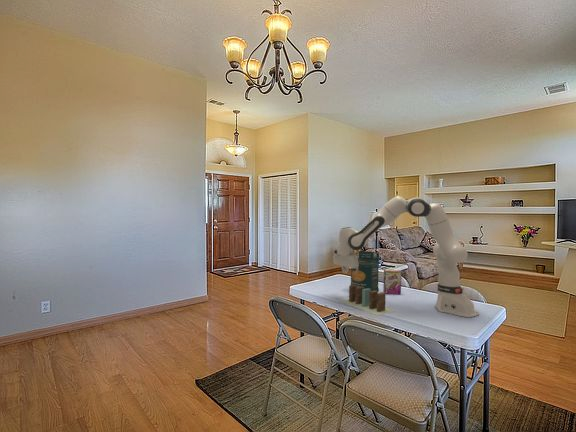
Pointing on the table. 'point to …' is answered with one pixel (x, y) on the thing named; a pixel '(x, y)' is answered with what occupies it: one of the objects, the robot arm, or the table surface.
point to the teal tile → (365, 297)
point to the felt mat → (367, 308)
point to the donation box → (366, 271)
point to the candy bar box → (392, 281)
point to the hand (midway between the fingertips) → (345, 273)
